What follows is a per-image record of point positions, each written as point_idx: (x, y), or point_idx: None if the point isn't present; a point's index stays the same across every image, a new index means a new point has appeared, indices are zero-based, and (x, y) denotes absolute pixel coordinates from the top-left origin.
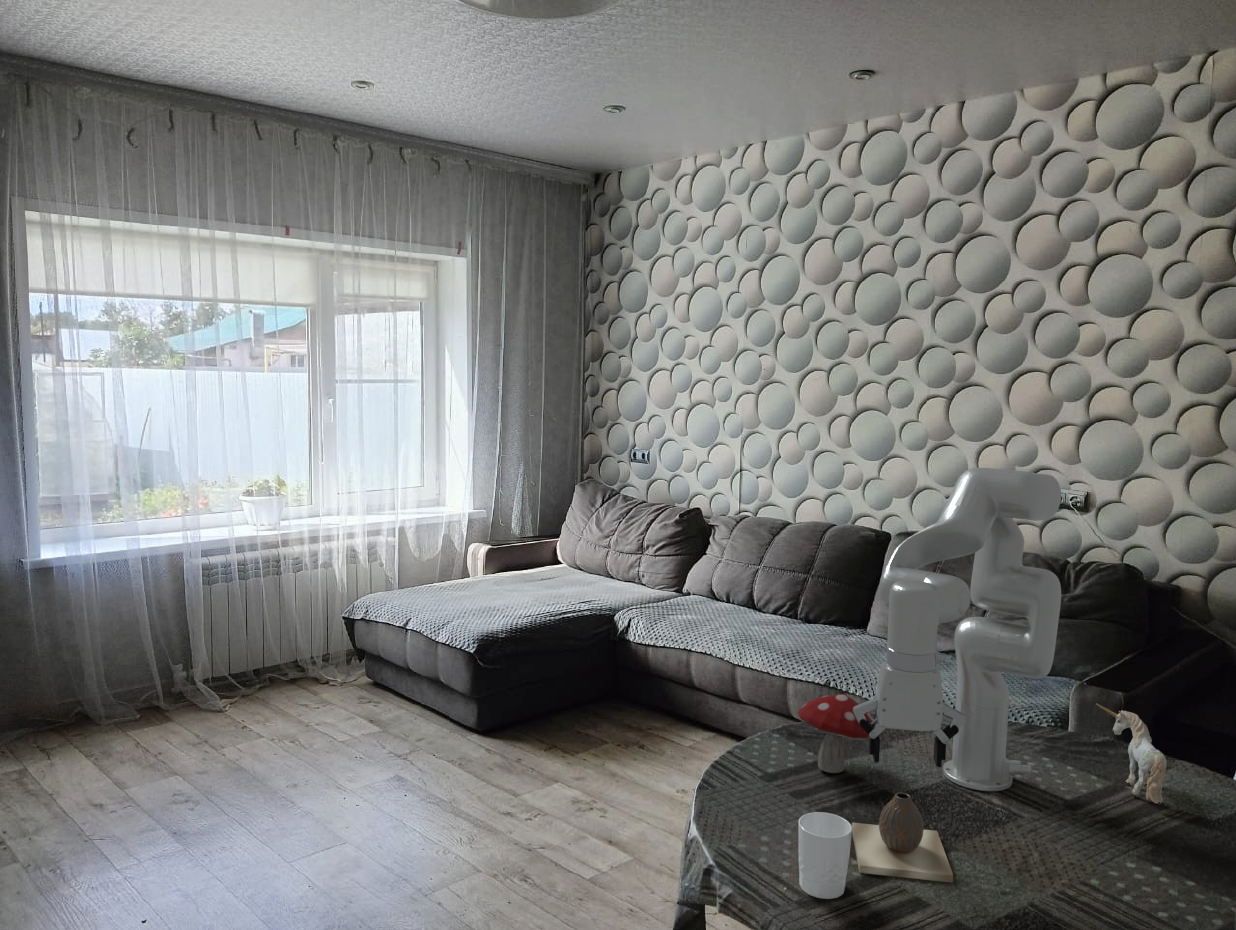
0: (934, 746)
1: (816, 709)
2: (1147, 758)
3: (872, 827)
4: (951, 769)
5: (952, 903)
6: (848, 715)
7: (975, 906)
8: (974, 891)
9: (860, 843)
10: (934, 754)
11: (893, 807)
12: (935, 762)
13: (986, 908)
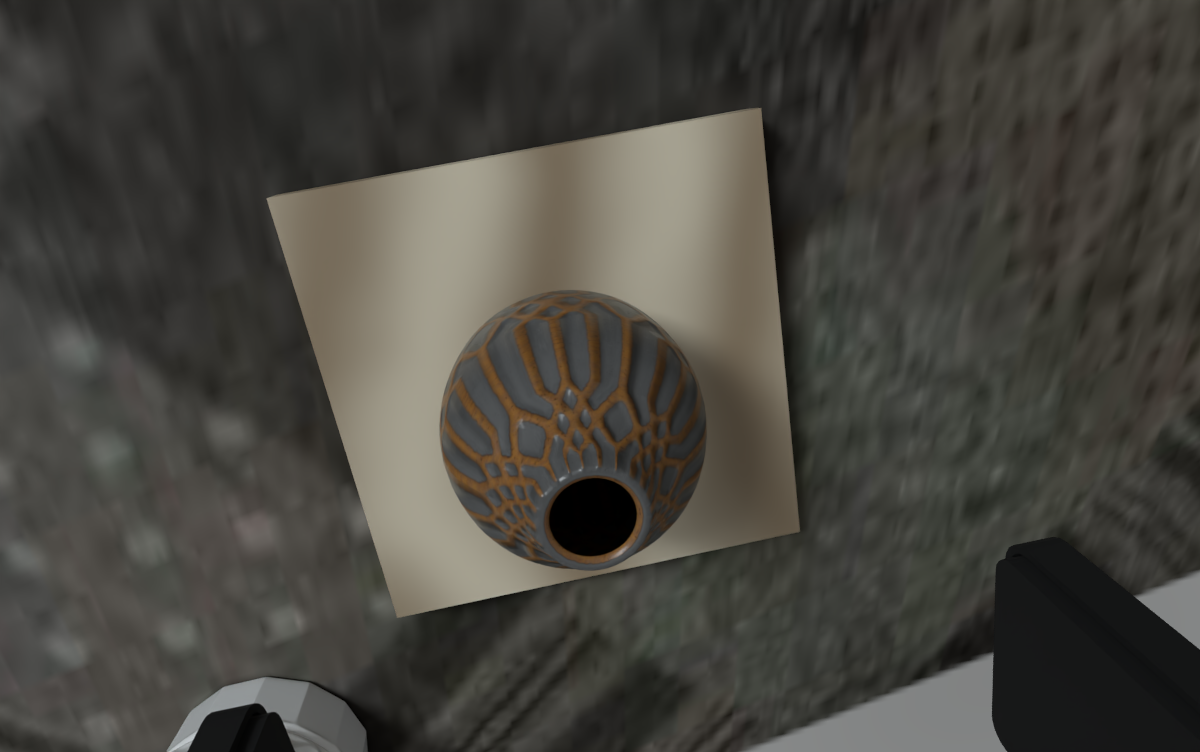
0: (1131, 704)
1: None
2: None
3: (396, 216)
4: None
5: (771, 651)
6: None
7: (852, 636)
8: (864, 540)
9: (363, 424)
10: (1048, 649)
11: (528, 549)
12: (1001, 674)
13: (889, 632)
